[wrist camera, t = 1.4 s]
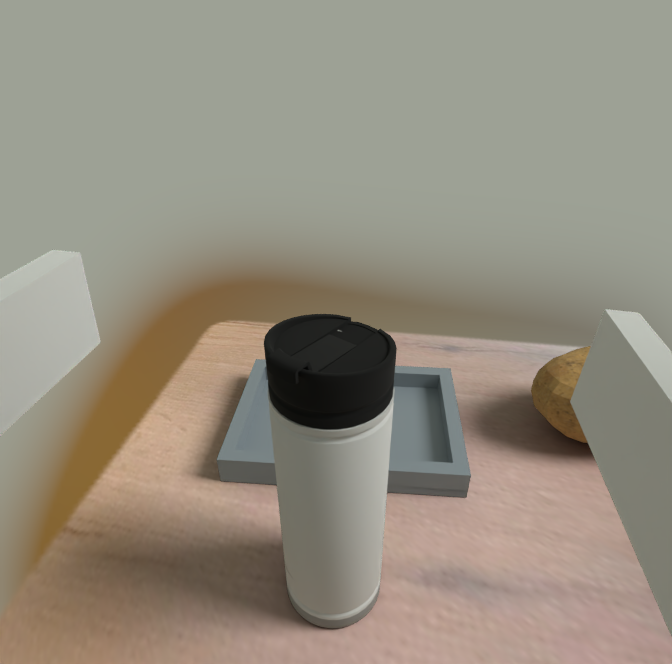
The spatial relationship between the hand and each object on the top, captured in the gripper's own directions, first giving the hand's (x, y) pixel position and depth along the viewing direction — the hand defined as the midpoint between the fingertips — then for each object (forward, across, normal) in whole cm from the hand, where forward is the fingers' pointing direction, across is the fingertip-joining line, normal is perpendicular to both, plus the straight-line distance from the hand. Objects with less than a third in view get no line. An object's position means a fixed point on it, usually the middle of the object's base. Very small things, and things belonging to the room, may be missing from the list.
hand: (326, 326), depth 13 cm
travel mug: (+9, 0, -25) cm, 27 cm away
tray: (+24, -1, -25) cm, 34 cm away
